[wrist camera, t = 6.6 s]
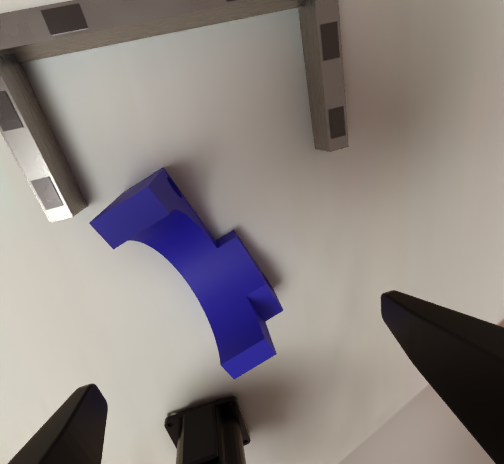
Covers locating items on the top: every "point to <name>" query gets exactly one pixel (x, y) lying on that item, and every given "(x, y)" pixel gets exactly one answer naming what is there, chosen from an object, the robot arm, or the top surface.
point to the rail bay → (131, 28)
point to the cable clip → (200, 266)
